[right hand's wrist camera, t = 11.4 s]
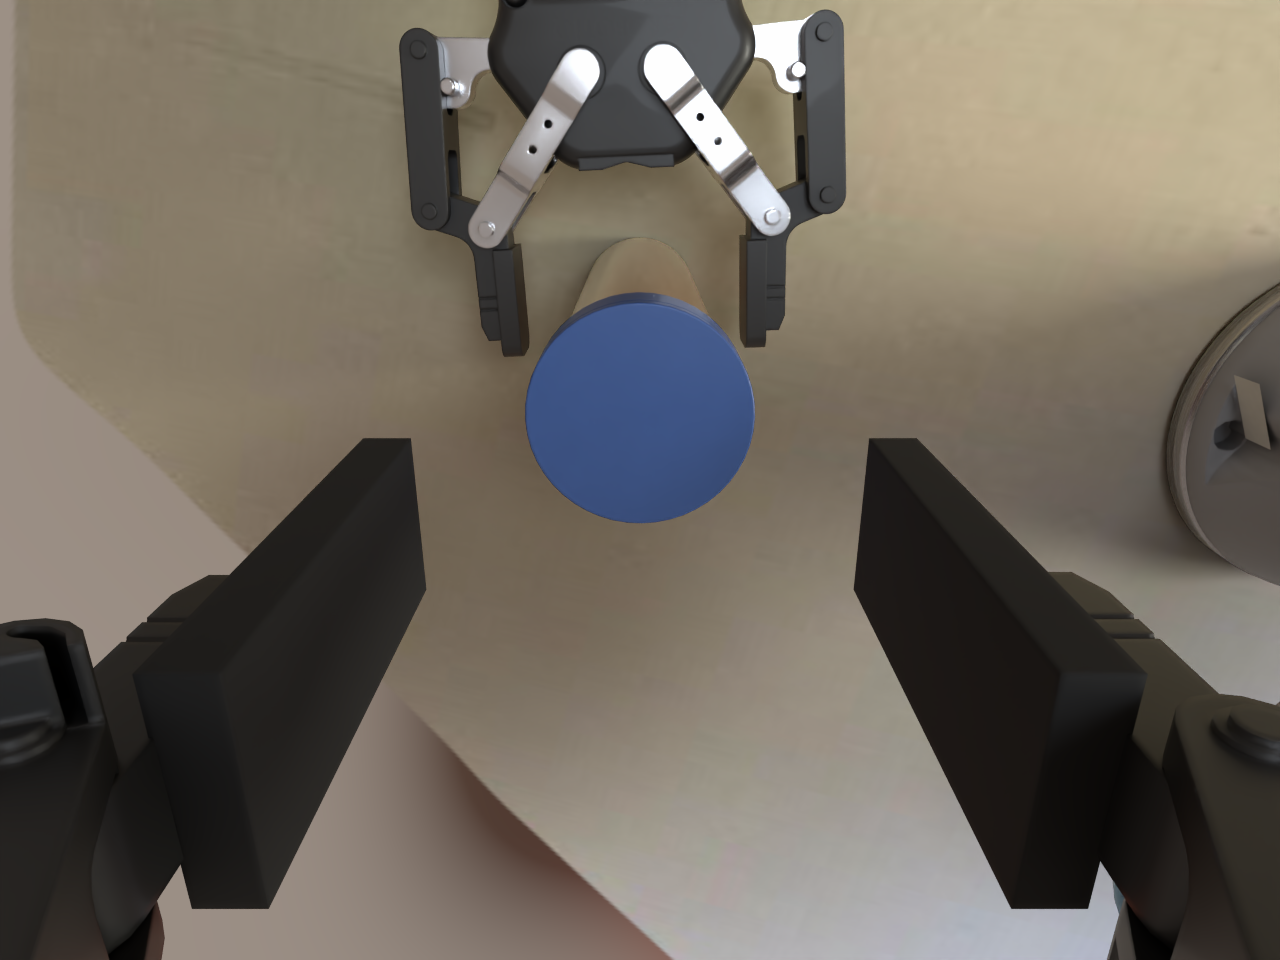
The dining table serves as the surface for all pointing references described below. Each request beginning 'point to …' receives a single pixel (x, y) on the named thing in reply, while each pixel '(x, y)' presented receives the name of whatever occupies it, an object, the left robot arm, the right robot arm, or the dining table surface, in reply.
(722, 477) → the lid
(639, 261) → the jar
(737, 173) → the left robot arm
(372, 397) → the dining table surface
